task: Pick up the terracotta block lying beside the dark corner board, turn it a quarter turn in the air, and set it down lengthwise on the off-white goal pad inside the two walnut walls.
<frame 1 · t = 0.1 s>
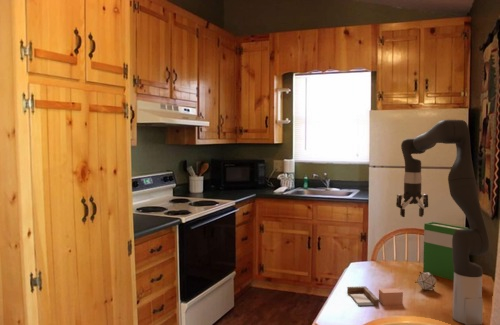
hand: (411, 216, 198), 29 cm above the table, tool pointing down, fingers open, 8 cm apart
game die: (426, 290, 186), on the table
hardback book: (444, 275, 205), on the table
block: (390, 302, 172), on the table
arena: (362, 298, 176), on the table
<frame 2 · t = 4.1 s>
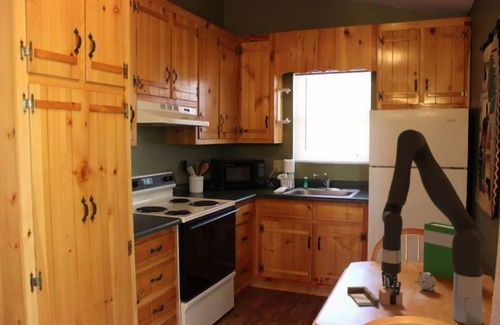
hand: (390, 301, 172), 0 cm above the table, tool pointing down, fingers closed on block, 4 cm apart
block: (390, 302, 172), on the table, touching gripper
everything else where it was.
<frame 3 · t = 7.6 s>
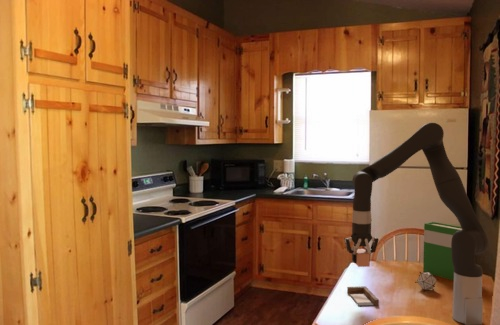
hand: (361, 262, 174), 15 cm above the table, tool pointing down, fingers closed on block, 4 cm apart
block: (361, 263, 174), point 15 cm above the table, touching gripper
everything else where it was.
when the fingers open (3 cm above the table, at t = 11.3 s): block drops 2 cm, resting on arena.
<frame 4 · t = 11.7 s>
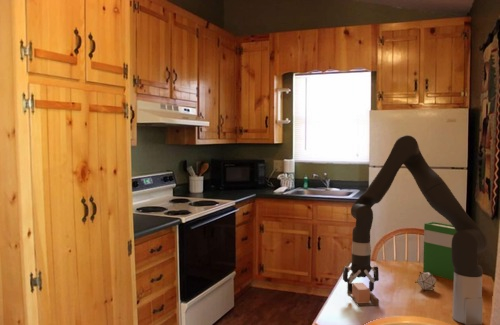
hand: (360, 291, 175), 3 cm above the table, tool pointing down, fingers open, 8 cm apart
block: (360, 298, 175), resting on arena
everything else where it was.
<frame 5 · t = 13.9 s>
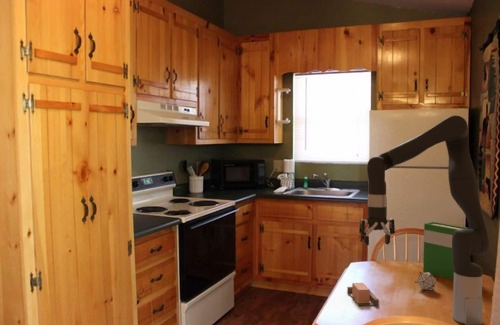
hand: (376, 244, 175), 22 cm above the table, tool pointing down, fingers open, 8 cm apart
nothing on the table moved.
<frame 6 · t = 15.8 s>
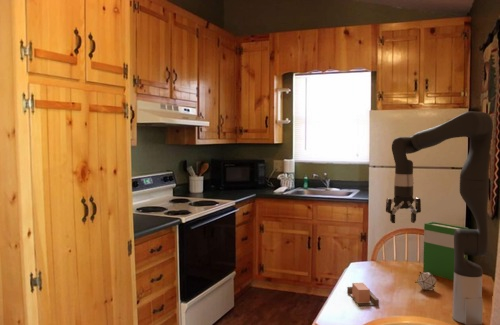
hand: (403, 222, 181), 30 cm above the table, tool pointing down, fingers open, 8 cm apart
nothing on the table moved.
at the end: block 0.1 cm from the target spot on the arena, point 0.5 cm above the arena's base; block tilted 0°; the gripper is holding nothing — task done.
